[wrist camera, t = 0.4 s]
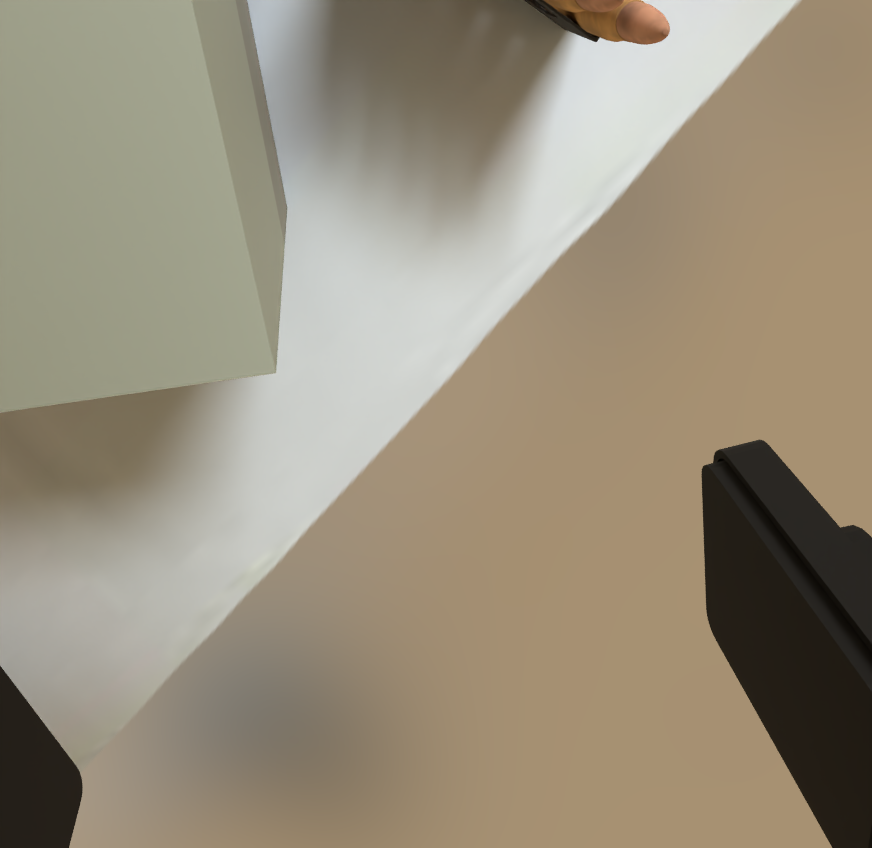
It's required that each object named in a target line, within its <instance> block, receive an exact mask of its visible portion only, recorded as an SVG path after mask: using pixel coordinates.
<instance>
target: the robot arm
mask: <svg viewBox="0 0 872 848" xmlns="http://www.w3.org/2000/svg"><path fill="white" fill-rule="evenodd" d="M702 497H703V527H704V554H705V582H706V583H705V584H706V610H707V616H708V621H709V624H710V627H711V630H712V633H713V635H714V637H715V639H716V641H717V642H718V644H719V646H720V648H721V650H722V652H723V653H724V655H725V657H726V659H727V661H728V662H729V664H730V666H731V668H732V669H733V671H734V673H735V675H736V677H737V678H738V680H739V682H740V684H741V685H742V687H743V689H744V691H745V692H746V694H747V696H748V698H749V700H750V702H751V703H752V705H753V707H754V709H755V710H756V712H757V714H758V716H759V718H760V719H761V721H762V723H763V725H764V727H765V728H766V730H767V732H768V733H769V735H770V737H771V739H772V741H773V742H774V744H775V746H776V748H777V750H778V751H779V753H780V755H781V757H782V758H783V760H784V762H785V764H786V766H787V767H788V769H789V771H790V773H791V774H792V776H793V778H794V780H795V782H796V783H797V785H798V787H799V789H800V791H801V792H802V794H803V796H804V798H805V800H806V801H807V803H808V805H809V807H810V808H811V810H812V812H813V814H814V816H815V817H816V819H817V821H818V823H819V824H820V826H821V828H822V830H823V831H824V834H825V835H826V837H827V839H828V841H829V842H830V844H831V846H832V848H872V537H871V536H870V535H869V534H868V533H866V532H865V531H864V530H863V529H862V528H859V527H856V526H854V525H851V526H846V527H842V528H840V527H839V526H838V525H837V523H836V522H835V521H834V520H833V519H832V518H831V517H830V515H829V514H828V513H827V512H826V511H825V510H824V508H823V507H822V506H821V505H820V504H819V503H818V501H817V500H816V499H815V498H814V497H813V496H812V495H811V493H810V492H809V491H808V490H807V489H806V488H805V486H804V485H803V484H802V483H801V482H800V481H799V479H798V478H797V477H796V476H795V475H794V474H793V473H792V471H791V470H790V469H789V468H788V467H787V466H786V464H785V463H784V462H783V461H782V460H781V459H780V458H779V457H778V455H777V454H776V453H775V452H774V451H773V450H772V448H771V447H770V446H769V445H768V444H767V443H766V442H765V441H762V440H756V441H753V442H748V443H744V444H741V445H737V446H732V447H728V448H724V449H720V450H718V451H716V452H715V455H714V461H713V463H712V464H708V465H705V466H703V468H702ZM81 797H82V779H81V775H80V772H79V770H78V768H77V767H76V765H75V764H74V763H73V761H72V760H71V759H70V757H69V756H68V755H67V753H66V752H65V751H64V749H63V748H62V747H61V745H60V744H59V743H58V741H57V740H56V739H55V737H54V736H53V735H52V734H51V732H50V731H49V730H48V728H47V727H46V726H45V724H44V723H43V722H42V720H41V719H40V718H39V716H38V715H37V714H36V712H35V711H34V710H33V708H32V707H31V706H30V704H29V703H28V702H27V701H26V699H25V698H24V697H23V695H22V694H21V693H20V691H19V690H18V689H17V687H16V686H15V685H14V683H13V682H12V681H11V679H10V678H9V677H8V675H7V674H6V673H5V671H4V670H3V669H2V667H1V666H0V848H69V845H70V841H71V837H72V833H73V829H74V826H75V822H76V818H77V814H78V810H79V806H80V802H81Z"/></svg>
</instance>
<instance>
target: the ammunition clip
mask: <svg viewBox="0 0 872 848" xmlns="http://www.w3.org/2000/svg"><path fill="white" fill-rule="evenodd" d="M525 1H526V2H528V3H529V4H530V5H532V6H533V7H534V8H536V9H537V10H539V11H540V12H541V13H543V14H544V15H545V16H547V17H548V18H550V19H551V20H552V21H554V22H555V23H557V24H558V25H559V26H561V27H562V28H563V29H565V30H568V31H570V32H572V33H575V34H577V35H580V36H582V37H584V38H587V39H589V40H592V41H594V42H597V41H598V39H599V38H600V37H601V38H603V39H606V40H609V41H614V42H619V41H627V42H633V43H637V44H653V43H657V42H660V41H662V40H664V39H665V38H666V37H667V36H668V34H669V31H670V27H669V23H668V21H667V20H666V18H665V16H664V15H663V14H662V13H661V12H660V11H659V10H657V9H656V8H654V7H653V6H651V5H649V4H646V3H644V2H643V1H641V0H525Z"/></svg>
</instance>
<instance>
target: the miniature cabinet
mask: <svg viewBox="0 0 872 848" xmlns="http://www.w3.org/2000/svg"><path fill="white" fill-rule="evenodd" d="M286 218H287V205H286V200H285V194H284V189H283V184H282V179H281V174H280V169H279V163H278V158H277V153H276V148H275V143H274V138H273V132H272V127H271V122H270V117H269V112H268V107H267V101H266V96H265V91H264V86H263V81H262V76H261V70H260V65H259V60H258V55H257V50H256V44H255V39H254V34H253V29H252V24H251V19H250V13H249V8H248V3H247V0H0V413H2V412H9V411H16V410H22V409H29V408H36V407H43V406H50V405H57V404H64V403H71V402H78V401H85V400H92V399H99V398H106V397H113V396H120V395H127V394H134V393H141V392H148V391H154V390H161V389H168V388H175V387H182V386H189V385H196V384H203V383H210V382H217V381H224V380H231V379H238V378H245V377H252V376H259V375H266V374H273V373H276V365H277V350H278V335H279V321H280V306H281V291H282V276H283V262H284V247H285V232H286Z"/></svg>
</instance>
